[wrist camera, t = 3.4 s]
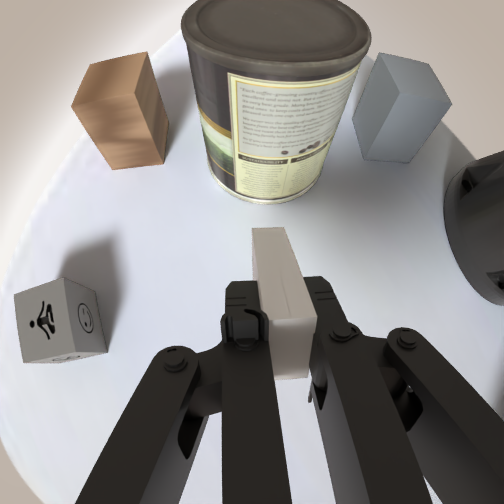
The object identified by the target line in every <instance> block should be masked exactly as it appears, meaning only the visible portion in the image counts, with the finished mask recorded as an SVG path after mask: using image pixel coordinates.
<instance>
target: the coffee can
mask: <svg viewBox="0 0 504 504" xmlns="http://www.w3.org/2000/svg"><path fill="white" fill-rule="evenodd" d="M181 30H182V34H183V37H184V40H185V42H186V45H187V50H188V56H189V62H190V67H191V72H192V78H193V83H194V89H195V94H196V99H197V104H198V110H199V115H200V121H201V125H202V131H203V136H204V141H205V146H206V152H207V161H208V166H209V169H210V172H211V174H212V176H213V177H214V179H215V180H216V181H217V183H218V184H219V185H220V186H221V187H222V188H223V189H225V190H226V191H227V192H229V193H230V194H232V195H233V196H235V197H237V198H239V199H242V200H245V201H248V202H252V203H258V204H277V203H284V202H288V201H290V200H293V199H295V198H297V197H299V196H301V195H303V194H304V193H305V192H307V191H308V190H309V189H310V188H311V187H312V186H313V185H314V184H315V182H316V181H317V179H318V178H319V176H320V174H321V171H322V168H323V163H324V160H325V158H326V155H327V153H328V150H329V148H330V145H331V142H332V140H333V137H334V135H335V132H336V129H337V127H338V124H339V122H340V119H341V116H342V114H343V111H344V108H345V105H346V103H347V100H348V97H349V94H350V92H351V89H352V86H353V83H354V81H355V78H356V75H357V72H358V69H359V66H360V63H361V61H362V59H363V58H364V56H365V55H366V54H367V52H368V49H369V47H370V44H371V32H370V29H369V27H368V25H367V24H366V22H365V21H364V20H363V19H362V18H361V17H360V15H358V14H357V13H356V12H355V11H354V10H352V9H351V8H350V7H348V6H347V5H345V4H343V3H342V2H340V1H338V0H197V1H196V2H195V3H193V4H192V5H191V6H190V7H189V8H188V9H187V10H186V11H185V13H184V15H183V16H182V20H181Z"/></svg>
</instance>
